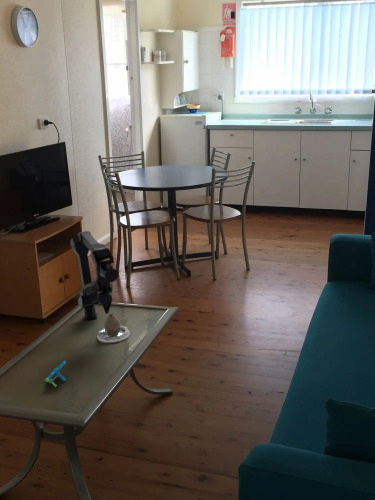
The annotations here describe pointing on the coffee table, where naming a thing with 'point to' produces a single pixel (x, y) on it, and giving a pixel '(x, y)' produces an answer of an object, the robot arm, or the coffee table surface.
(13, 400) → the coffee table surface
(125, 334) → the rosette plate
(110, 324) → the vase
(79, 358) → the coffee table surface
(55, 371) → the blue green rod structure
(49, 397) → the coffee table surface
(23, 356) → the coffee table surface
